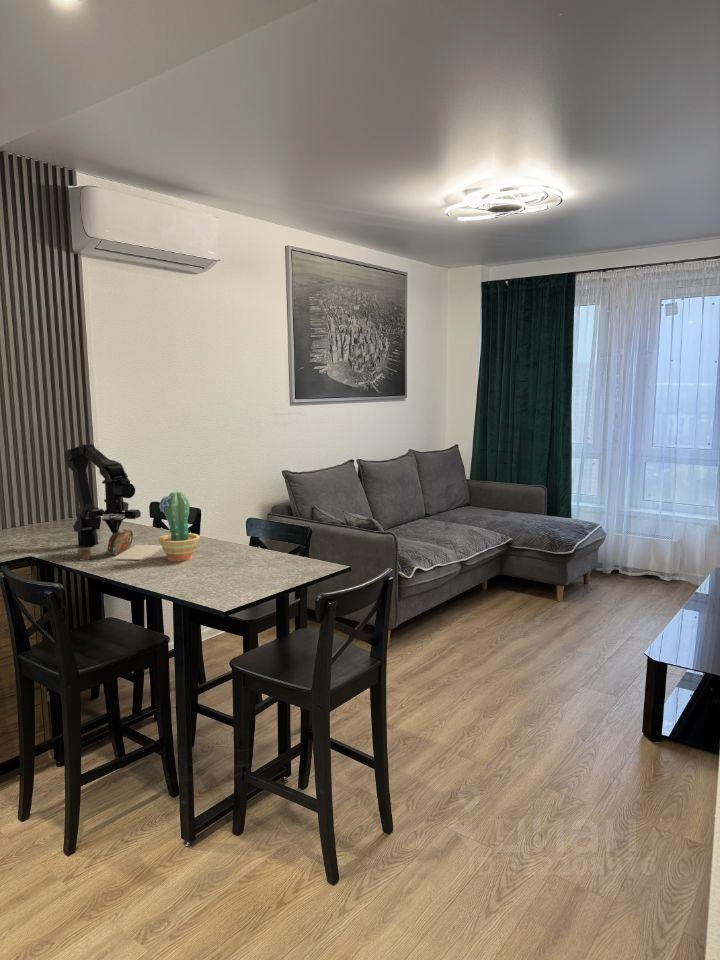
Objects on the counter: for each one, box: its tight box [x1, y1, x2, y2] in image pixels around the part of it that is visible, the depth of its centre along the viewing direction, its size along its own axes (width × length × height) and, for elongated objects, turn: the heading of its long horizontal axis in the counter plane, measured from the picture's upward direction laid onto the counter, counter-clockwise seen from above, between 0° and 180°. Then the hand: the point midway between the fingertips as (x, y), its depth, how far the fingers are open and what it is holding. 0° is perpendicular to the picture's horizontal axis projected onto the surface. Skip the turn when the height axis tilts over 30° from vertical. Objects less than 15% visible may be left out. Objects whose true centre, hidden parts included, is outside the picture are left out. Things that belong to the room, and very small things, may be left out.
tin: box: [107, 528, 134, 556], centre depth 254 cm, size 15×3×8 cm, turn 172°
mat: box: [111, 544, 163, 562], centre depth 254 cm, size 12×22×1 cm, turn 176°
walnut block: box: [77, 547, 92, 561], centre depth 245 cm, size 4×4×4 cm
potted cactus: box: [157, 491, 201, 562], centre depth 246 cm, size 15×15×25 cm
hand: (115, 536), depth 254 cm, fingers closed
